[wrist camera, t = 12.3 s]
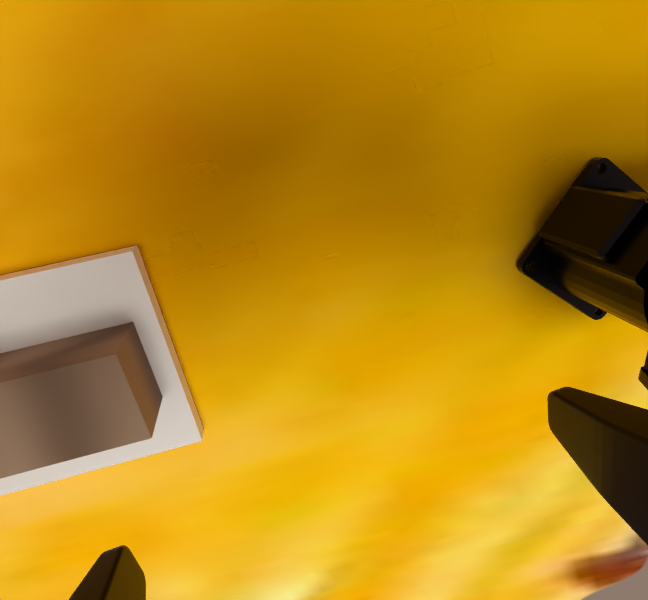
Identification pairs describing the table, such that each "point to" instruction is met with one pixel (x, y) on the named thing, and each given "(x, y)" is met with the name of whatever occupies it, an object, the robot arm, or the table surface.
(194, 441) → the ridge base plate
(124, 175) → the table surface
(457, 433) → the table surface
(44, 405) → the walnut ridge
